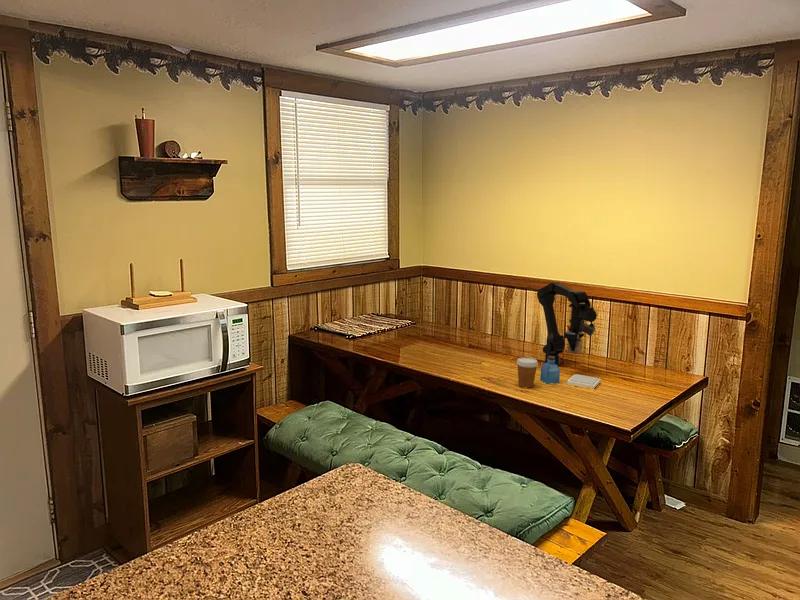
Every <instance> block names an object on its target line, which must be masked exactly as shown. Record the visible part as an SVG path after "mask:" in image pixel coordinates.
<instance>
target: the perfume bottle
mask: <svg viewBox="0 0 800 600" xmlns="http://www.w3.org/2000/svg"><path fill="white" fill-rule="evenodd" d="M547 362H548V363H545V362H544V363H543V364H542V366H541V367H540V379H539V380H541V382H542V381H543V382H542V383H544V382H545V383H546V384H545V383H544V384H545V385H547V384H548V385H551V384H550V383H559V384H560V376H561V370H560V368H559V365H558V366H557V365H556V364H554V362H555V357H554V356H548V359H547Z"/></svg>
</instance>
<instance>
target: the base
mask: <svg viewBox="0 0 800 600" xmlns="http://www.w3.org/2000/svg"><path fill="white" fill-rule="evenodd" d="M601 381H602V380H601V378H598V377H596V376H589V375H583V374H577V373H576V374H573V375H572V376H571V377H569V379H568V380H567V381H566V385H567V384H571V385H576V386H583V387H590V388H595V387H596V385H598V384H599V382H600V383H601ZM599 385H600V384H599ZM599 385H598V386H599ZM596 388H597V387H596ZM596 388H595V389H596Z"/></svg>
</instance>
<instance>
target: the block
mask: <svg viewBox="0 0 800 600" xmlns="http://www.w3.org/2000/svg"><path fill="white" fill-rule="evenodd" d="M567 343H568V346H567V353H568V354H575V355H579V354H581V353H582V349H583V348H582V344H583V340H582V339H581V340H580V339H578V340H577V342H576V346H575V350H574V351H572V350H571V347H570V345H569V342H567Z"/></svg>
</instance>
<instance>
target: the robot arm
mask: <svg viewBox="0 0 800 600" xmlns="http://www.w3.org/2000/svg"><path fill="white" fill-rule="evenodd" d="M558 294H559V295H561V296H563V297H565V298H567V301H569V302H570V304H569V305H568V307H569V308H571V309H570V319H569V328H568V330H567V331H566V332H564V333H563V334H560V332H559V329H558V323H557V317H556V314H555V308H554V302H555V300H556V295H558ZM536 296H537V297H536V298H537V300H538V303H539V304H540V305H541V306H542V309H543V314H544V319H545V324H546V329H547V338H546V341H545V342H546V343H545V346H543V347H542V353H544V354H545V358H544V363H548V362H547V359H548V356H554V357H555V362H554V364H556V365H557V366H558V367H559V366H560V365H561V356H560V354H563V353H564V352H563V351H564V350H565V346H566V342H565V339H566V340H567V343H569V345H570V347H571V350H572V351H574V350H575V346H576V342H577V340H578V339H580V340H582V337H584V336H585V335H588V336H592V335H594V333H595V331H596V327H595V323H593V322H595V321H596V319H597V317H598V313H597V312H596V310H595V307H593V306H592V305H591V301H590V299H589V296H588V295H587V292H585V291H583V290H577V289H573V288H570V287H568V286H566V285H564V284H562V283H560V282H558V281H555V282H554V281H553V282H549V283H548V284H546V285H545V286H543V287H541V288H539V289H538V291H537V293H536ZM586 322H589V323H590V324H588V323H586Z"/></svg>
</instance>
